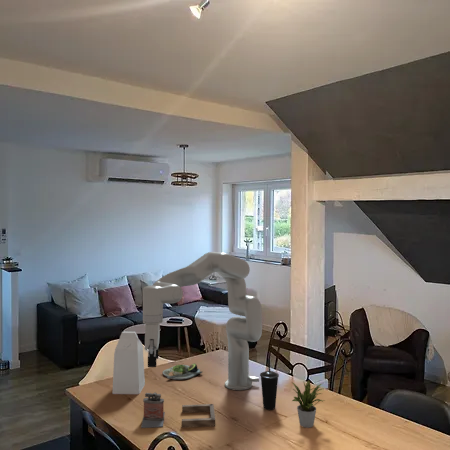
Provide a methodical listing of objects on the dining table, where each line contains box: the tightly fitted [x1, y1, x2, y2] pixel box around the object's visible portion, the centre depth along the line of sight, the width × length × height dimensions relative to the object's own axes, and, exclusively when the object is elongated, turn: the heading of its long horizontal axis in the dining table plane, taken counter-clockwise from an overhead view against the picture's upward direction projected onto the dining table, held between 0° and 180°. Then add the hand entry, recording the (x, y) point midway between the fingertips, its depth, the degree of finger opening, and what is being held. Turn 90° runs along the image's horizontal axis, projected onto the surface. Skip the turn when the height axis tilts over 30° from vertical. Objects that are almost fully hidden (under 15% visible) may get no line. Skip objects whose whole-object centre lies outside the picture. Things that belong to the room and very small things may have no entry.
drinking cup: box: [259, 358, 280, 411], centre depth 183 cm, size 8×8×20 cm
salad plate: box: [162, 363, 203, 381], centre depth 222 cm, size 19×18×5 cm
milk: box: [111, 331, 146, 395], centre depth 204 cm, size 12×12×26 cm
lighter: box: [142, 391, 165, 421], centre depth 173 cm, size 8×3×10 cm, turn 82°
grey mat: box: [140, 411, 165, 429], centre depth 173 cm, size 8×12×1 cm, turn 5°
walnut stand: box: [181, 403, 216, 428], centre depth 174 cm, size 12×14×2 cm
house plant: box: [291, 380, 326, 429], centre depth 168 cm, size 14×14×16 cm
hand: (153, 362), depth 172 cm, fingers open, 9 cm apart
